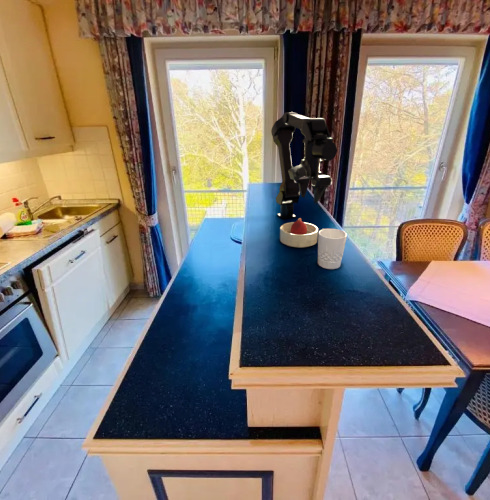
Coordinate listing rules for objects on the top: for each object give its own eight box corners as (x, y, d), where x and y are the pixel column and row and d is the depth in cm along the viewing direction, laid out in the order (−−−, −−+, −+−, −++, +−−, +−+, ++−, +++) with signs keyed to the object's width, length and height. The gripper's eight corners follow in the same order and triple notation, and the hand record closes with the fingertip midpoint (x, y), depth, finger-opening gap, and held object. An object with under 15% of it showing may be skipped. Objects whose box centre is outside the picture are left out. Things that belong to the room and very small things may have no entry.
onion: (302, 244, 97) (303, 222, 93) (287, 240, 100) (288, 219, 96) (308, 238, 101) (310, 217, 98) (294, 235, 104) (295, 214, 101)
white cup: (324, 255, 90) (328, 226, 85) (347, 263, 84) (352, 233, 80) (310, 264, 85) (313, 233, 80) (333, 273, 79) (337, 240, 75)
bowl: (273, 237, 104) (274, 224, 102) (304, 232, 108) (305, 220, 106) (290, 251, 93) (291, 237, 91) (324, 245, 97) (325, 231, 95)
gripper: (280, 155, 105) (279, 196, 111) (305, 161, 89) (302, 209, 96) (306, 153, 108) (303, 193, 115) (335, 159, 92) (330, 205, 99)
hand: (309, 200), depth 106 cm, fingers open, 9 cm apart
